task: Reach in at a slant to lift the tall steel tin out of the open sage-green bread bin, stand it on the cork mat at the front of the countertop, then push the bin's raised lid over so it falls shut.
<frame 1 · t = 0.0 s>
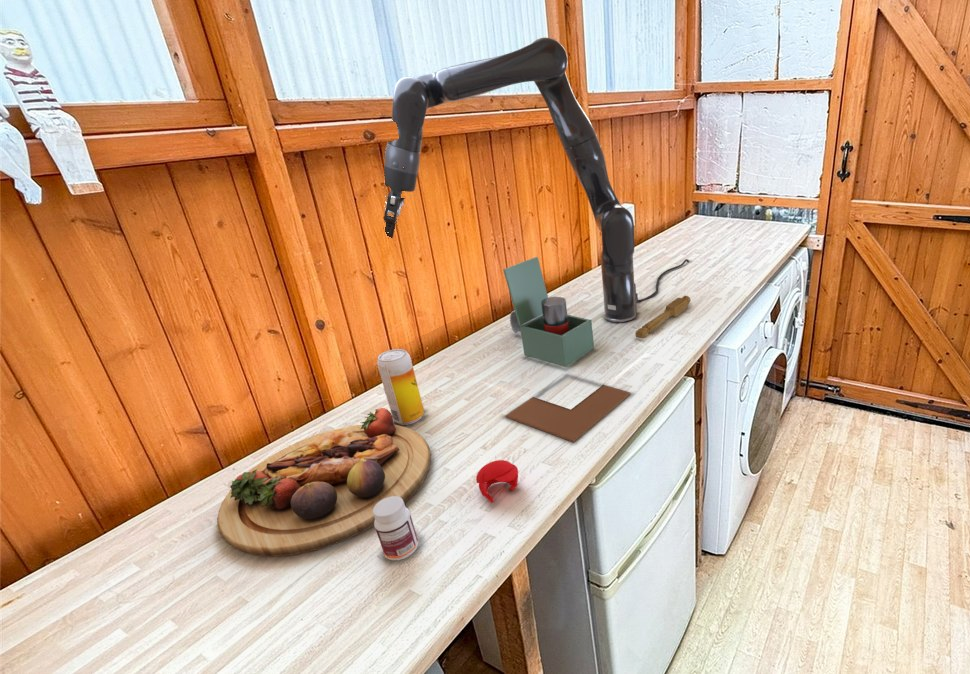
hand: (389, 233, 126), 31 cm above the worktop, tool tilted 20°, fingers open, 8 cm apart
tap handle: (665, 321, 152), on the worktop
tin: (559, 351, 134), point 1 cm above the worktop, touching bread bin
mat: (569, 405, 112), on the worktop
pill bottle: (402, 549, 77), on the worktop
bread bin: (559, 354, 134), on the worktop
bin lid: (523, 290, 132), point 16 cm above the worktop, hinge at 100.0°
beer can: (409, 418, 109), on the worktop
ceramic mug: (527, 332, 148), on the worktop
wooden plate: (335, 486, 91), on the worktop
cap: (500, 493, 88), on the worktop
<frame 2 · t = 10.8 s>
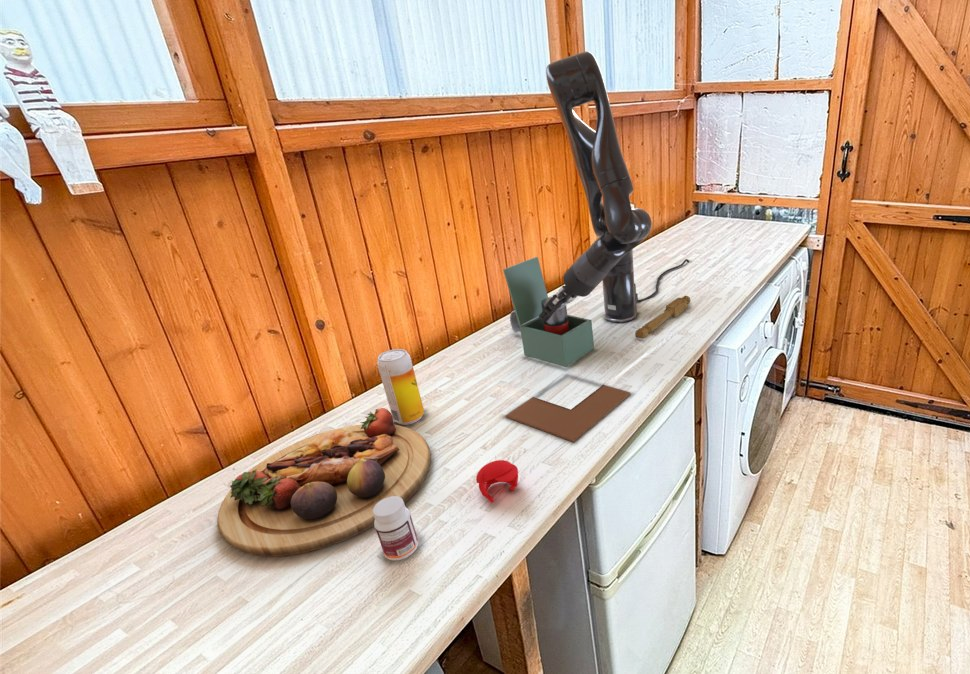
hand: (549, 314, 130), 11 cm above the worktop, tool tilted 45°, fingers closed on tin, 6 cm apart
tin: (559, 351, 134), point 1 cm above the worktop, touching bread bin, gripper
everything else where it was.
when the fingers open (11 cm above the worktop, at t = 21.5 s): tin stays where it is, resting on mat.
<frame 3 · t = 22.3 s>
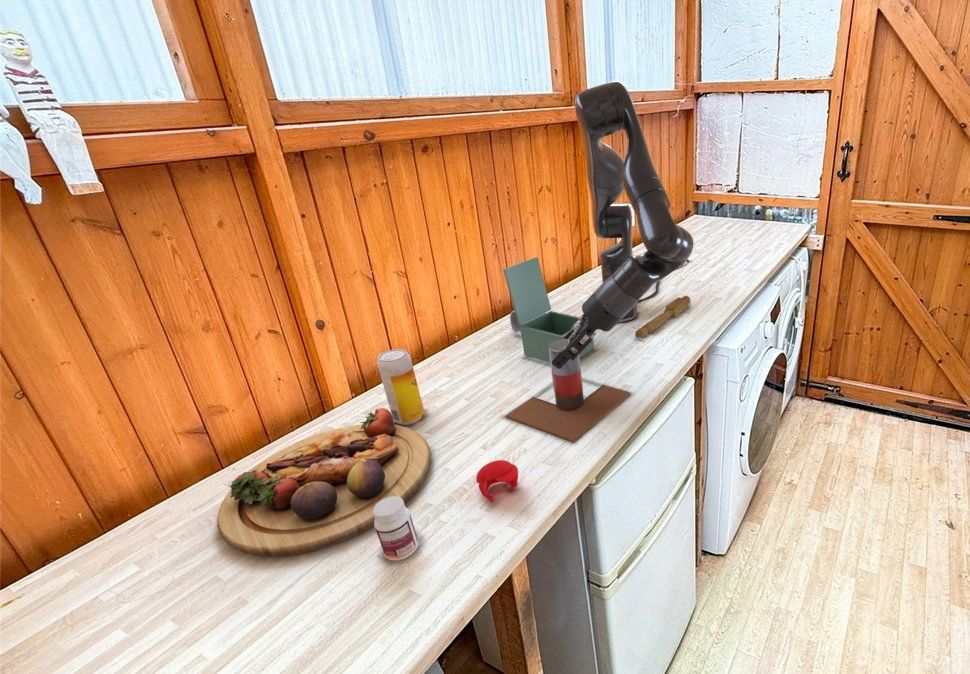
hand: (559, 355, 107), 12 cm above the worktop, tool tilted 45°, fingers open, 8 cm apart
tin: (570, 403, 111), resting on mat
everything else where it was.
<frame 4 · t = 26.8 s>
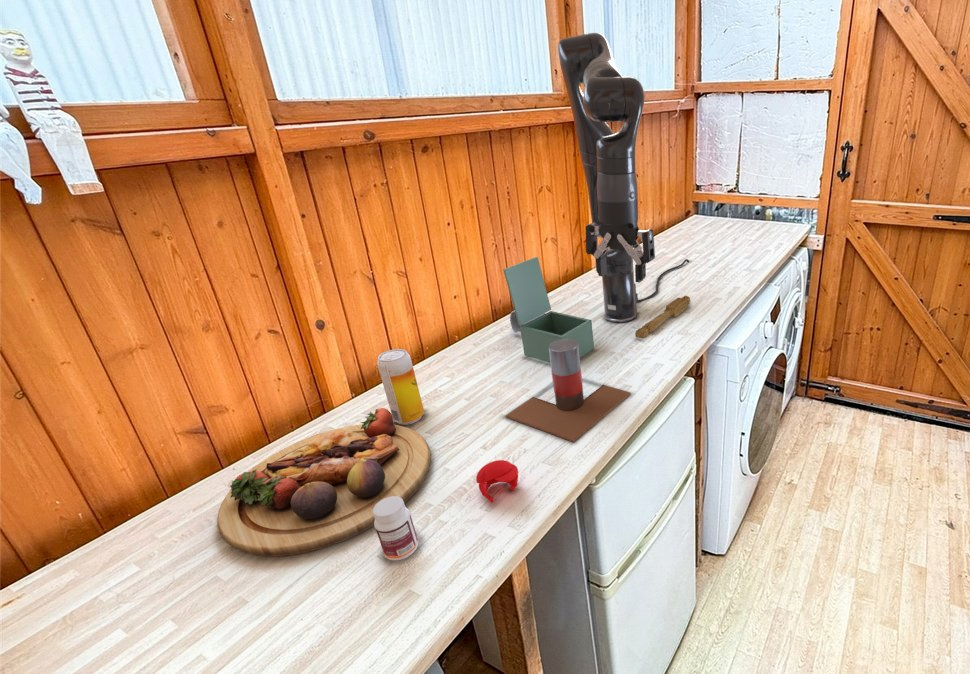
hand: (620, 278, 104), 27 cm above the worktop, tool pointing down, fingers open, 8 cm apart
nothing on the worktop moved.
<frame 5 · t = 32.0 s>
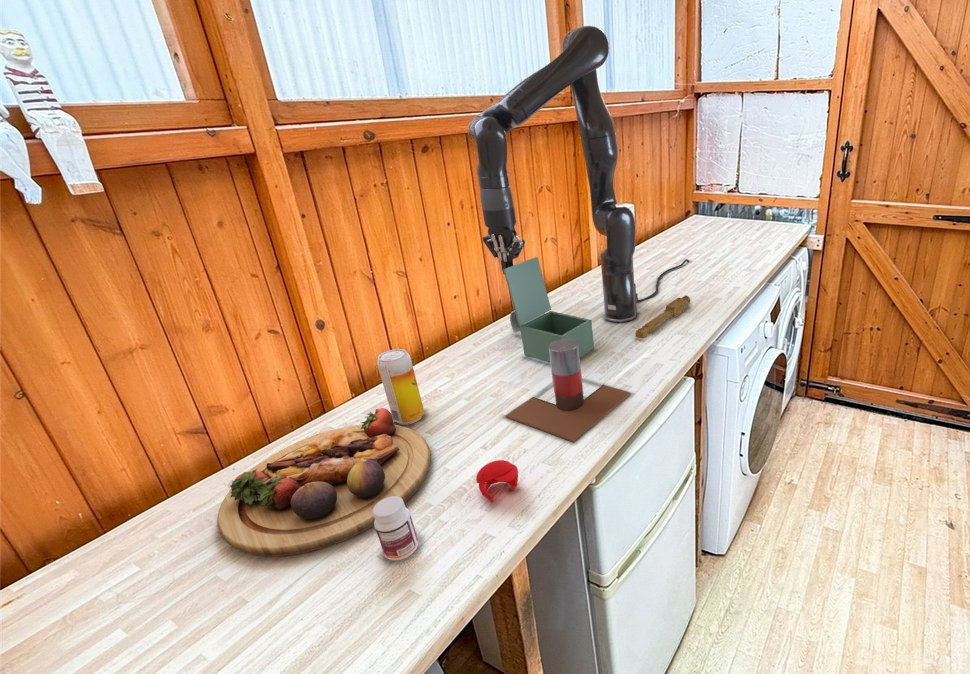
hand: (508, 274, 133), 20 cm above the worktop, tool pointing down, fingers closed
bin lid: (523, 290, 132), point 16 cm above the worktop, hinge at 99.9°, touching gripper
everything else where it was.
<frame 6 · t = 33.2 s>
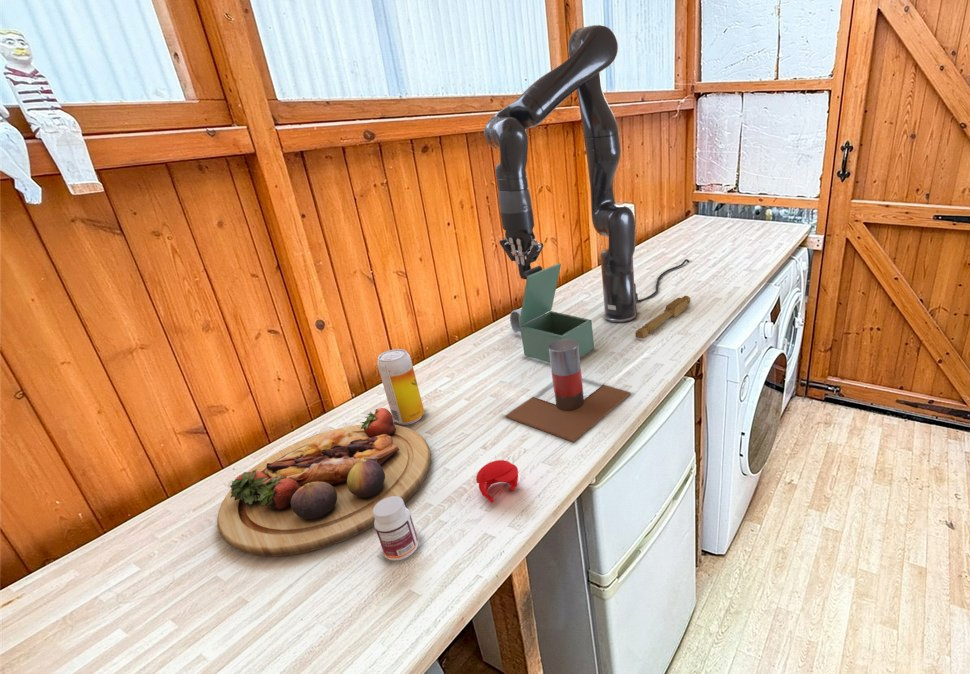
hand: (525, 278, 130), 19 cm above the worktop, tool pointing down, fingers closed
bin lid: (534, 290, 130), point 17 cm above the worktop, hinge at 68.8°, touching gripper
everything else where it was.
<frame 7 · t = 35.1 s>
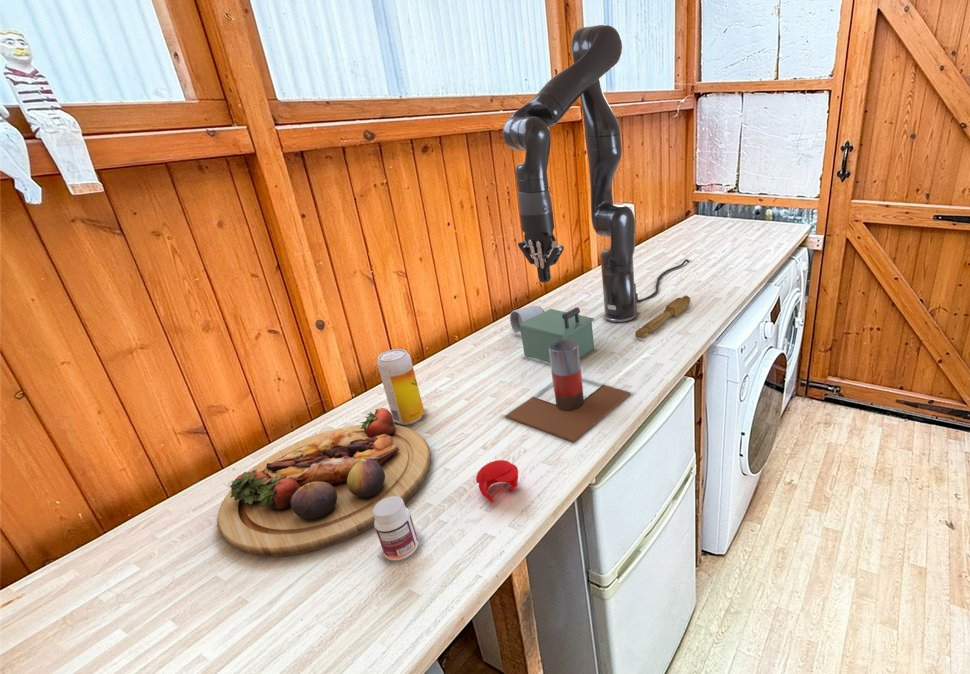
hand: (544, 281, 127), 20 cm above the worktop, tool pointing down, fingers closed
bin lid: (556, 315, 129), point 11 cm above the worktop, hinge at -0.2°
everything else where it was.
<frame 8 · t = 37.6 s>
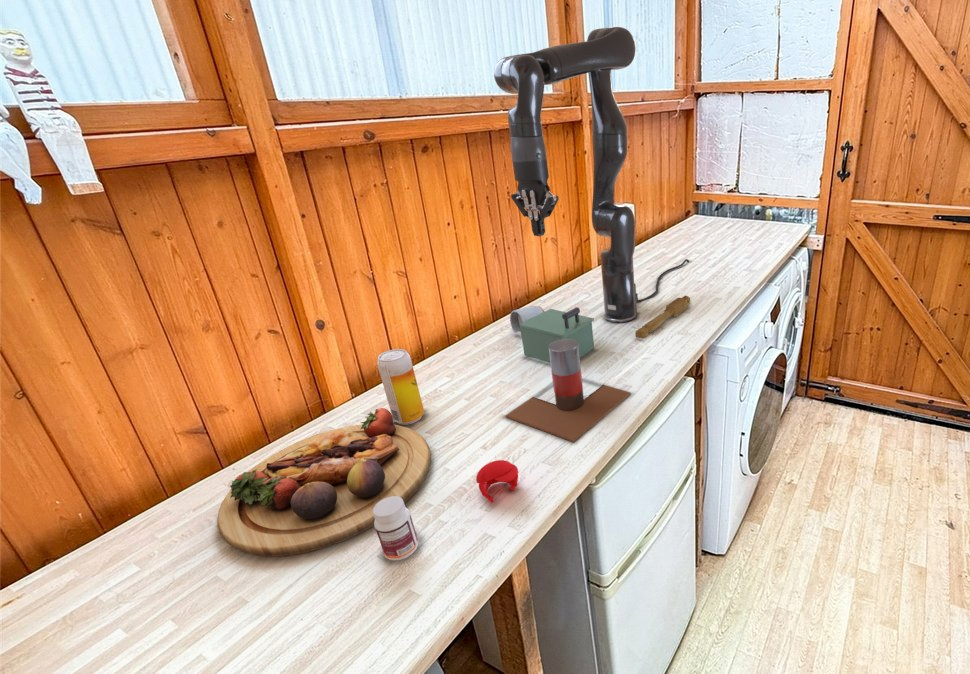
hand: (539, 235, 122), 31 cm above the worktop, tool pointing down, fingers closed
nothing on the worktop moved.
at the end: tin inside the target area on the mat (0.1 cm from its centre), point 0.5 cm above the mat's base; tin tilted 0°; bin lid at +0° (first picture: +100°) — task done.
